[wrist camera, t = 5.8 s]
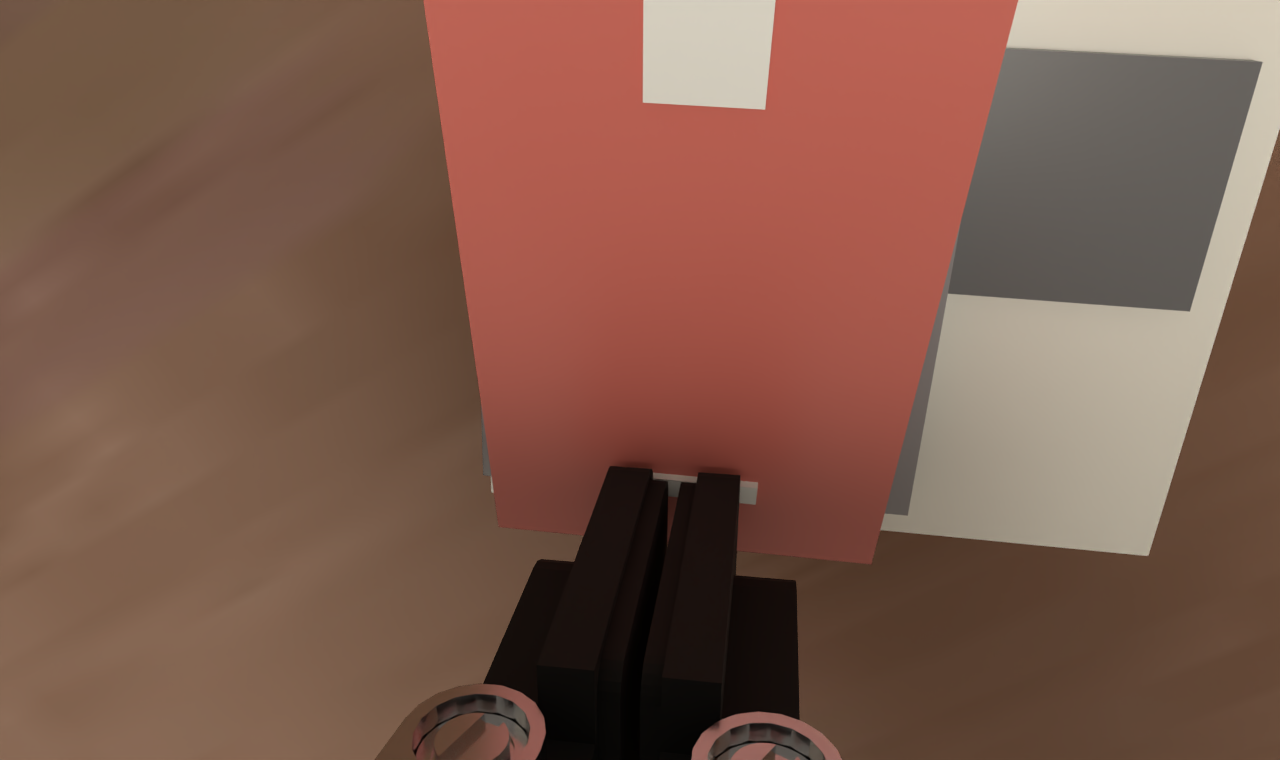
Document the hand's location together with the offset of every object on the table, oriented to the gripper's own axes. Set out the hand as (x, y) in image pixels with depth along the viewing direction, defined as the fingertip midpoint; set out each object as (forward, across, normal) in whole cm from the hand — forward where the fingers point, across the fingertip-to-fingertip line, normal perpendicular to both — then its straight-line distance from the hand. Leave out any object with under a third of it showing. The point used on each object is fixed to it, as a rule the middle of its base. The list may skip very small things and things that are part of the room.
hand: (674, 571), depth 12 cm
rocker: (+2, 0, -5) cm, 5 cm away
